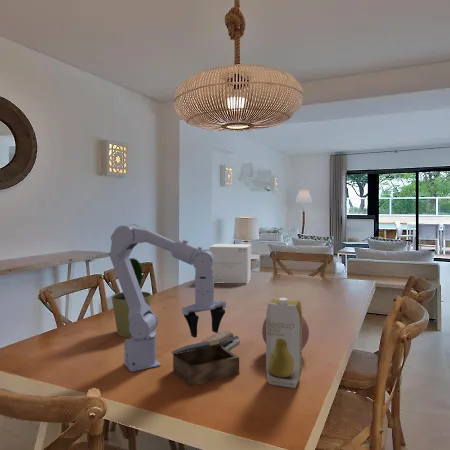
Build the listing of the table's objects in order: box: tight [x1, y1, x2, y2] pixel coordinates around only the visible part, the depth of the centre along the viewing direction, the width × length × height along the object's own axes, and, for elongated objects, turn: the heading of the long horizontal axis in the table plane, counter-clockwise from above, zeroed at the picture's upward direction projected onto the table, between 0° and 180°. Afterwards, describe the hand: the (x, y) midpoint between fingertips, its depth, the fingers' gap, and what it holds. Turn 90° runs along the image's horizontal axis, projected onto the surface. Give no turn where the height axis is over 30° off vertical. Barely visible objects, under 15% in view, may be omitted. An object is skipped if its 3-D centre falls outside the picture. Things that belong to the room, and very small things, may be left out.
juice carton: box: [265, 297, 303, 389], centre depth 111 cm, size 9×8×24 cm
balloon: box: [261, 315, 310, 350], centre depth 130 cm, size 15×20×15 cm
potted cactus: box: [111, 257, 152, 338], centre depth 156 cm, size 15×15×30 cm
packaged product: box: [196, 330, 241, 352], centre depth 137 cm, size 18×5×10 cm
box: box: [172, 345, 240, 387], centre depth 118 cm, size 16×12×5 cm
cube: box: [208, 243, 252, 285], centre depth 267 cm, size 25×21×24 cm
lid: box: [171, 335, 240, 355], centre depth 118 cm, size 17×13×1 cm
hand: (204, 334), depth 121 cm, fingers open, 7 cm apart
